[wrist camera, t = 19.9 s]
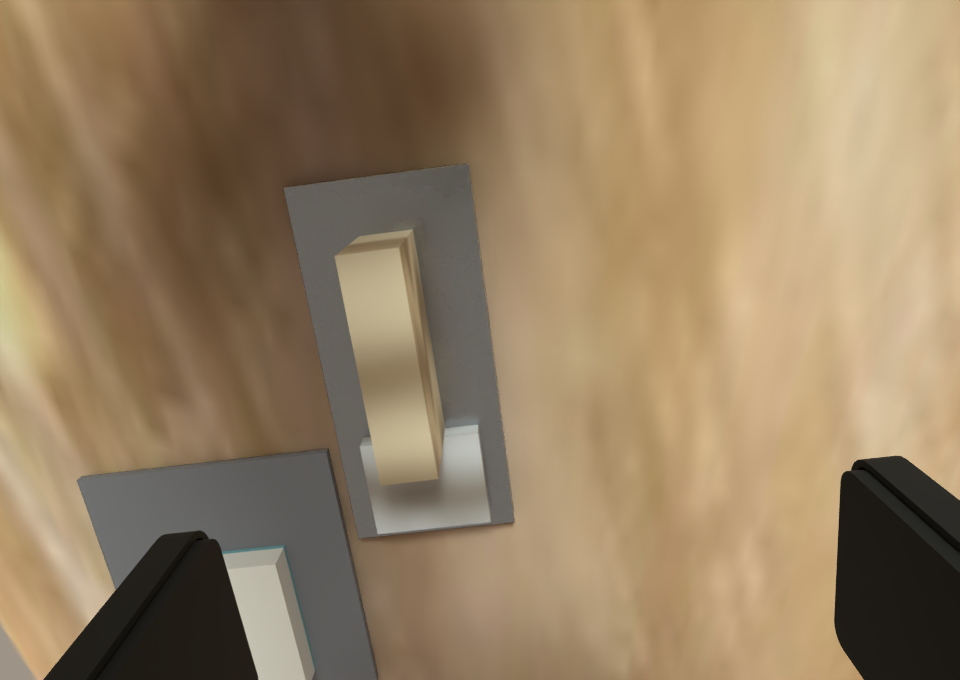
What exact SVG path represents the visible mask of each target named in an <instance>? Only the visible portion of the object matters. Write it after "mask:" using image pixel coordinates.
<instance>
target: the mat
mask: <svg viewBox="0 0 960 680" xmlns="http://www.w3.org/2000/svg"><path fill="white" fill-rule="evenodd" d="M77 482H78V485H79V488H80V490H81V493H82V496H83V499H84V502H85V504H86V507H87V510H88V513H89V516H90V519H91V521H92V524H93V527H94V530H95V533H96V535H97V538H98V541H99V544H100V547H101V549H102V552H103V555H104V558H105V561H106V564H107V566H108V569H109V572H110V575H111V578H112V580H113V583H114V586H115V589H117V588H118V587H119V586H120V584H121V583H122V582H123V581H124V579H125V578H126V577H127V576H128V575H129V573H130V572H131V571H132V570H133V568H134V567H135V566H136V565H137V563H138V562H139V561H140V560H141V559H142V557H143V556H144V555H145V554H146V552H147V551H148V550H149V549H150V547H151V546H152V545H153V544H154V542H155V541H156V540H157V539H158V538H159V537H160V536H161V535H164V534H171V533H180V532H189V531H199V530H201V531H203V532H205V533H206V535H207V536H208V538H209V539H215V540H217V541H218V543H219V545H220V547H221V550H222V551H232V550H241V549H251V548H260V547H270V546H279V545H285V547H286V551H287V555H288V559H289V563H290V567H291V571H292V575H293V579H294V583H295V587H296V590H297V594H298V598H299V602H300V606H301V610H302V614H303V618H304V622H305V626H306V630H307V634H308V638H309V641H310V645H311V649H312V653H313V657H314V661H315V665H316V669H315V672H314V675H313V678H312V680H378V673H377V668H376V664H375V659H374V655H373V650H372V646H371V641H370V636H369V632H368V627H367V623H366V618H365V614H364V609H363V605H362V600H361V596H360V591H359V586H358V582H357V577H356V573H355V568H354V564H353V559H352V555H351V550H350V545H349V541H348V536H347V532H346V527H345V523H344V518H343V514H342V509H341V505H340V500H339V495H338V491H337V486H336V482H335V477H334V473H333V468H332V464H331V459H330V455H329V450H328V449H322V450H313V451H304V452H295V453H286V454H277V455H269V456H260V457H251V458H242V459H233V460H224V461H215V462H206V463H197V464H188V465H179V466H170V467H162V468H153V469H144V470H135V471H126V472H117V473H108V474H99V475H90V476H82V477H80V478H79V479H78V480H77Z"/></svg>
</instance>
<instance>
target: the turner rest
mask: <svg viewBox="0 0 960 680" xmlns="http://www.w3.org/2000/svg"><path fill="white" fill-rule="evenodd" d="M284 193H285V198H286V202H287V207H288V212H289V216H290V221H291V226H292V230H293V235H294V240H295V244H296V249H297V254H298V258H299V263H300V268H301V272H302V277H303V282H304V286H305V291H306V296H307V300H308V305H309V310H310V314H311V319H312V324H313V328H314V333H315V338H316V342H317V347H318V352H319V356H320V361H321V366H322V370H323V375H324V380H325V384H326V389H327V394H328V398H329V403H330V408H331V412H332V417H333V422H334V426H335V431H336V436H337V440H338V445H339V450H340V454H341V459H342V464H343V468H344V473H345V478H346V482H347V487H348V492H349V496H350V501H351V506H352V510H353V515H354V520H355V525H356V529H357V534H358V539H360V538H369V537H379V536H388V535H398V534H407V533H417V532H426V531H436V530H445V529H455V528H464V527H474V526H483V525H493V524H502V523H512V522H514V510H513V502H512V495H511V487H510V479H509V471H508V463H507V456H506V448H505V440H504V432H503V424H502V417H501V409H500V401H499V393H498V385H497V378H496V370H495V362H494V354H493V346H492V338H491V331H490V323H489V315H488V307H487V299H486V292H485V284H484V276H483V268H482V260H481V253H480V245H479V237H478V229H477V221H476V214H475V206H474V198H473V190H472V182H471V175H470V167H469V163H464V164H456V165H449V166H441V167H433V168H426V169H418V170H411V171H403V172H395V173H388V174H380V175H373V176H365V177H357V178H350V179H342V180H335V181H327V182H320V183H312V184H304V185H297V186H289V187H285V188H284ZM411 229H413V232H414V239H415V245H416V251H417V257H418V263H419V270H420V276H421V282H422V288H423V294H424V301H425V307H426V313H427V319H428V325H429V331H430V338H431V344H432V350H433V356H434V362H435V369H436V375H437V381H438V387H439V393H440V400H441V406H442V412H443V418H444V424H445V428H452V427H461V426H470V425H478V427H479V434H480V441H481V448H482V454H483V461H484V468H485V475H486V482H487V489H488V496H489V503H490V510H491V522H488V523H479V524H470V525H460V526H451V527H442V528H433V529H424V530H414V531H405V532H396V533H387V534H378V533H377V528H376V524H375V519H374V514H373V509H372V504H371V499H370V495H369V490H368V485H367V480H366V475H365V471H364V466H363V461H362V456H361V451H360V445H361V442H362V440H363V438H366V437H371V436H370V431H369V426H368V421H367V416H366V411H365V406H364V401H363V396H362V391H361V386H360V381H359V376H358V371H357V366H356V361H355V356H354V351H353V346H352V341H351V336H350V331H349V326H348V321H347V316H346V311H345V306H344V301H343V296H342V291H341V286H340V281H339V276H338V271H337V266H336V261H335V255H337V254H338V253H339V252H340V251H341V250H343V249H344V248H345V247H346V246H348V245H349V244H350V243H351V242H353V241H354V240H355V239H356V238H357V237H359V236H365V235H373V234H380V233H388V232H396V231H403V230H411Z"/></svg>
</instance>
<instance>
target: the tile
mask: <svg viewBox="0 0 960 680" xmlns="http://www.w3.org/2000/svg"><path fill="white" fill-rule="evenodd" d="M222 554H223V557H224V561H225V564H226V568H227V571H228V575H229V578H230V581H231V585H232V588H233V592H234V595H235V599H236V602H237V606H238V609H239V612H240V616H241V619H242V623H243V626H244V630H245V633H246V637H247V640H248V643H249V647H250V650H251V654H252V657H253V661H254V664H255V668H256V671H257V674H258V679H259V680H312V678H313V675H314V672H315V669H316V665H315V661H314V657H313V653H312V649H311V645H310V641H309V638H308V634H307V630H306V626H305V622H304V618H303V614H302V610H301V606H300V602H299V598H298V594H297V590H296V587H295V583H294V579H293V575H292V571H291V567H290V563H289V559H288V555H287V551H286V547H285V545H279V546H270V547H260V548H251V549H241V550H232V551H222Z"/></svg>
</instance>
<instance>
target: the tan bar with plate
mask: <svg viewBox="0 0 960 680" xmlns="http://www.w3.org/2000/svg"><path fill="white" fill-rule="evenodd" d="M335 261H336V266H337V271H338V276H339V281H340V286H341V291H342V296H343V301H344V306H345V311H346V316H347V321H348V326H349V331H350V336H351V341H352V346H353V351H354V356H355V361H356V366H357V371H358V376H359V381H360V386H361V391H362V396H363V401H364V406H365V411H366V416H367V421H368V426H369V431H370V436H371V437H366V438H363V440H362V442H361V445H360V451H361V456H362V461H363V466H364V471H365V475H366V480H367V485H368V490H369V495H370V499H371V504H372V509H373V514H374V519H375V524H376V528H377V533H378V534H387V533H396V532H405V531H414V530H424V529H433V528H442V527H451V526H460V525H470V524H479V523H488V522H491V510H490V503H489V496H488V489H487V482H486V475H485V468H484V461H483V454H482V448H481V441H480V434H479V427H478V425H470V426H461V427H452V428H445V424H444V418H443V412H442V406H441V400H440V393H439V387H438V381H437V375H436V369H435V362H434V356H433V350H432V344H431V338H430V331H429V325H428V319H427V313H426V307H425V301H424V294H423V288H422V282H421V276H420V270H419V263H418V257H417V251H416V245H415V239H414V232H413V229H411V230H403V231H396V232H388V233H380V234H373V235H365V236H359V237H357V238H356V239H355V240H354V241H353V242H351V243H350V244H349V245H348V246H346V247H345V248H344V249H343V250H341V251H340V252H339V253H338V254H337V255H335Z"/></svg>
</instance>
